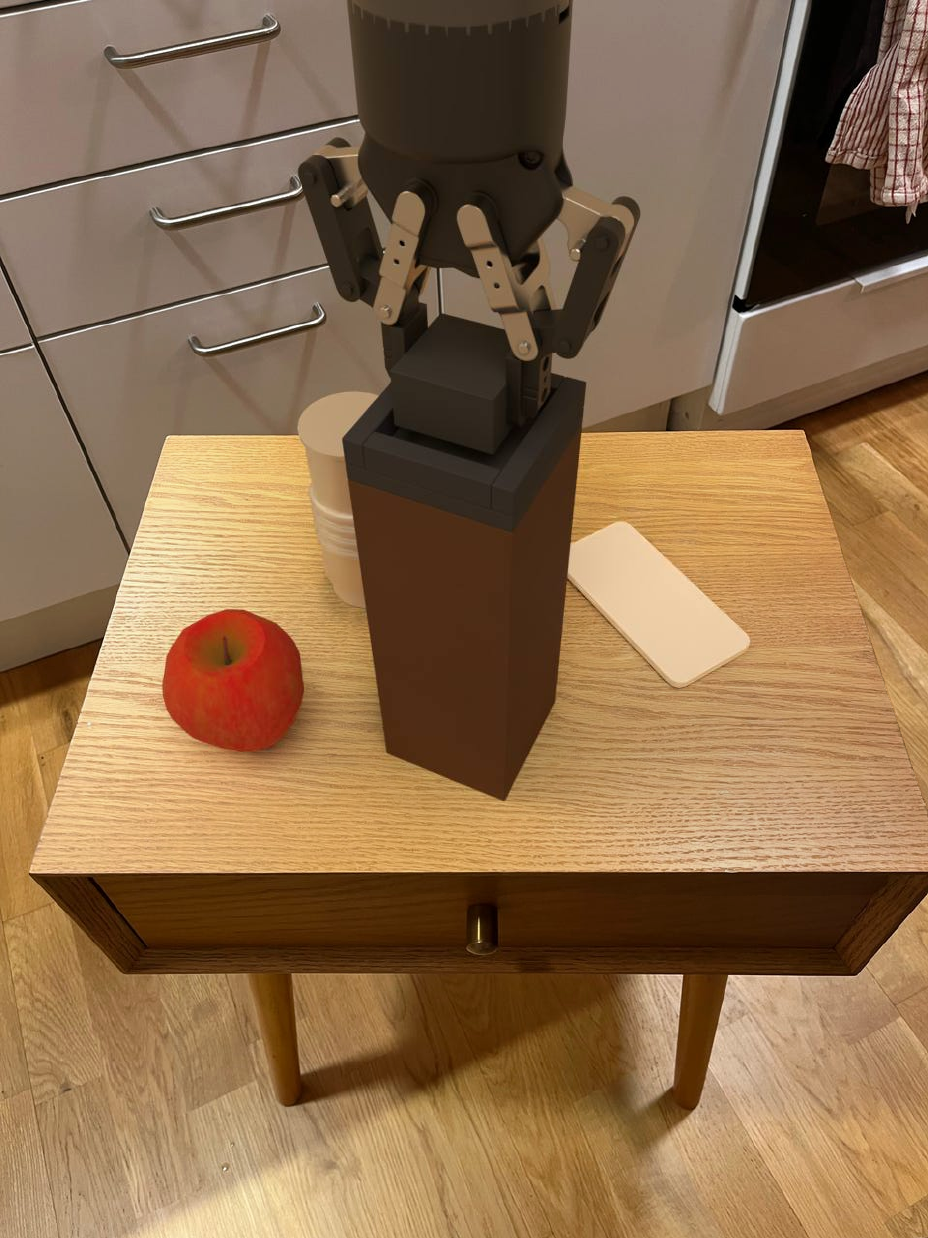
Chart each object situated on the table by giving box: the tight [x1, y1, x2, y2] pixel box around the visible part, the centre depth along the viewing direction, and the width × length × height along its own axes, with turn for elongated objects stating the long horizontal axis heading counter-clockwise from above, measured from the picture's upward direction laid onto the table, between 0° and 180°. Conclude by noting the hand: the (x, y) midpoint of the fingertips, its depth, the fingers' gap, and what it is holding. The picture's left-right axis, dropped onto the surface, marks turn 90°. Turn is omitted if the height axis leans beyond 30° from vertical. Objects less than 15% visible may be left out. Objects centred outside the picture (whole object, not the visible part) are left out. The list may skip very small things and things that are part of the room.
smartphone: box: [567, 520, 751, 689], centre depth 72 cm, size 7×1×15 cm
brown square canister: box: [342, 372, 587, 802], centre depth 55 cm, size 9×9×26 cm
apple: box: [161, 608, 305, 753], centre depth 61 cm, size 9×8×11 cm
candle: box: [297, 391, 379, 609], centre depth 68 cm, size 7×7×15 cm
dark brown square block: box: [389, 312, 513, 454], centre depth 44 cm, size 5×5×3 cm
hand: (467, 398), depth 44 cm, fingers closed on dark brown square block, 5 cm apart
